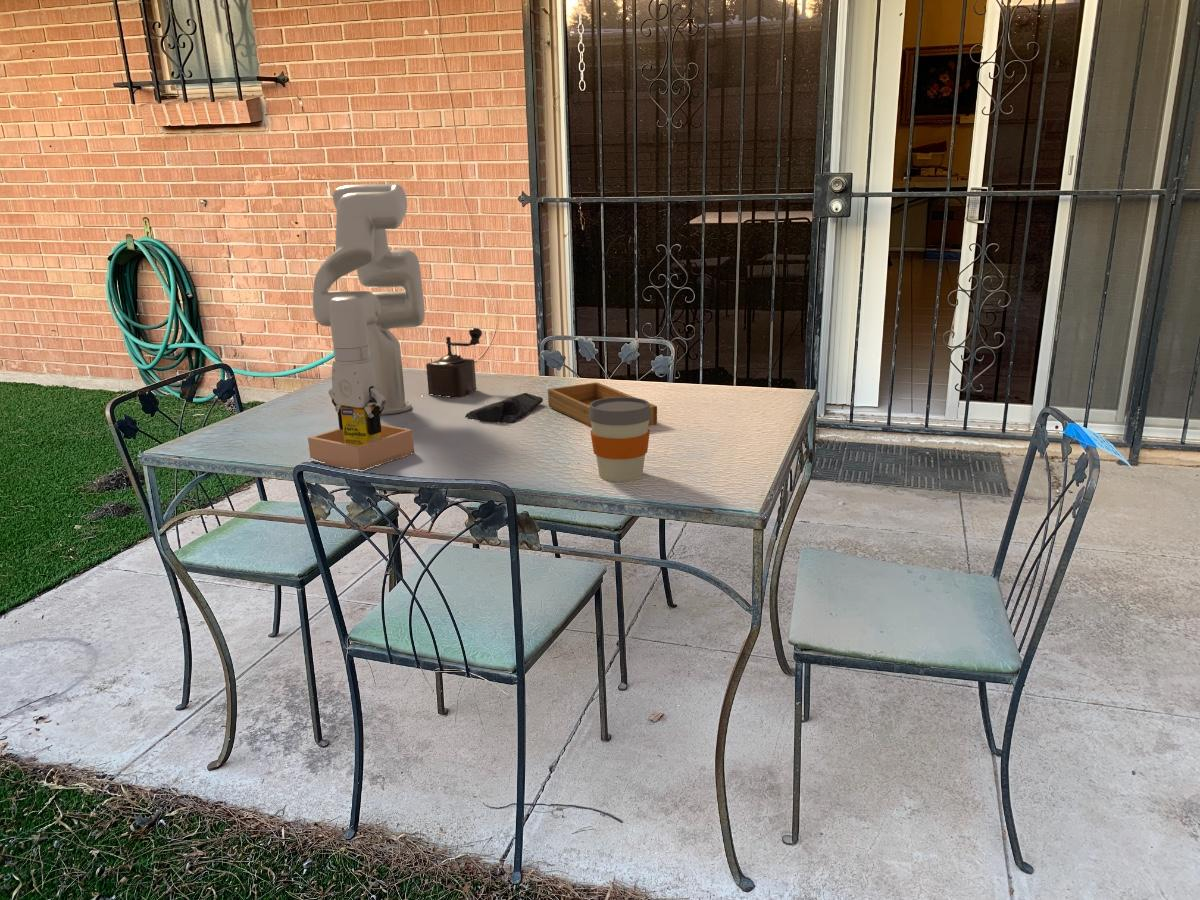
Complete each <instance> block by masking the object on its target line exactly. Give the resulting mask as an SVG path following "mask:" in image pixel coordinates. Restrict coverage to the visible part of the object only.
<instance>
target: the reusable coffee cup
mask: <svg viewBox="0 0 1200 900" xmlns="http://www.w3.org/2000/svg"><path fill="white" fill-rule="evenodd" d="M633 397H634V396H633ZM633 397H611V398H604V399H599V400H596V401H593V402H591V403H590V411H589V419H590V420H591V425H592V427H591V430H590V437H591V442H592V443H591V444H592V450H593V453H594V455H595V457H596V463H597V464H596V465H597V469H598V476H599V477H600V479H602V480H605V481H608V482H612V483H613V482H615V483H624V482H633V481H636V480H638V479H639V480H640V478H642V477H643V474H644V465H645V459H646V458H645V457H646V454H647V453H648V452H649V451H648V449H649V443H650V442H649V441H650V434H651V431H650V428H649V426H648V425H649V419H650V418H651V413H650V404H651V403H650V402H649V401H648V400H646V399H643V398H638V397H635V398H633ZM649 403H650V404H649Z"/></svg>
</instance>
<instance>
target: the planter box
mask: <svg viewBox="0 0 1200 900" xmlns="http://www.w3.org/2000/svg"><path fill="white" fill-rule="evenodd" d="M413 431H414V430H413V429H409V428H406V427H405V428H404V427H398V426H394V425H390V424H389V425H388V424H384V423H383V424H382V423H381V432H380V434H381V439H378V440H375V441H372V442H368V443H365V444H362V445H359V446H356V445H351V444H346V443H345V442H344V433H343V430H342V429H340V428H339V427H338V428H336V429H332V430H329V431H326V432H322V433H320V434H316V435H312V436H309V437H307V442H308V450H309V458H313V459H315V460H318V461H321V462H325V463H321V465H324V464H325V466H329V465H331V466H330V467H333V466H335V467H334V468H338V467H343V468H349V469H358V470H365V469H367V468H370V467H373V466H375V465H379V464H382V463H385V462H388V461H391V460H394V459H397V458H400V457H402V458H404V457H403V456H405V457H407V456H406V455H408V456H410V455H409V454H411V453H413V454H415V445H414V443H415V442H414V432H413ZM411 455H412V454H411ZM400 459H401V458H400ZM397 460H398V459H397ZM394 461H395V460H394ZM391 462H392V461H391ZM388 463H389V462H388Z"/></svg>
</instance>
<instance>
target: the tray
mask: <svg viewBox="0 0 1200 900" xmlns="http://www.w3.org/2000/svg"><path fill="white" fill-rule="evenodd" d="M547 395H548V396H547V399H548V400H547V401H548V403H547V404H548V407H549V408H551V409H553V410H555V411H557V412H559V413H562V414H563V415H565V416H568V417H570V418H572V419H573V420H575V421H578V422H580V423H582V424H584V425H586V426H588V427H590V428H592V425H591V420H590V419H589V411H590V403H591V402H593V401H596V400H599V399H604V398H611V397H633V398H636V397H635V396H632V395H630V394H628V393H626V392H623V391H620V390H617V389H615V388H613V387H610V386H608V385H605V384H602V383H600V382H588V383H579V384H574V385H565V386H559V387H552V388H551V387H550V388H548V389H547ZM649 404H650V413H651V418H650V419H649V425H648V427H651V425H652V426H655V425H656V424H657V425H658V406H657V405H656V404H653V403H651V402H649Z"/></svg>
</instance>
